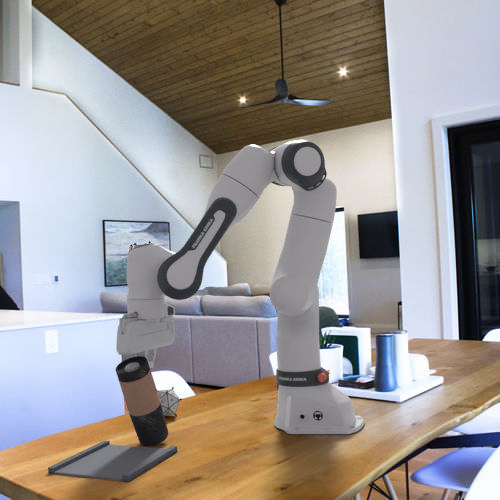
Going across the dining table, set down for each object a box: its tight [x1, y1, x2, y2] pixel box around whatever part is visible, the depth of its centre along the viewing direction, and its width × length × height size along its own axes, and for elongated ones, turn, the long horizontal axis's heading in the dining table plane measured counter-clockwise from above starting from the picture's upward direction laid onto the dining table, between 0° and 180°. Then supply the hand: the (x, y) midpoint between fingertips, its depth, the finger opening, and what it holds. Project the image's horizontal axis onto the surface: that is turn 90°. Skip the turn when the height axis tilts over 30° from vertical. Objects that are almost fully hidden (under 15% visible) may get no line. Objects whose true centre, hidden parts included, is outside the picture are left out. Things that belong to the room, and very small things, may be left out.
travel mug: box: [115, 355, 169, 448], centre depth 135 cm, size 8×8×20 cm
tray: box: [47, 440, 178, 483], centre depth 126 cm, size 20×19×1 cm
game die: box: [157, 386, 183, 417], centre depth 163 cm, size 9×8×10 cm
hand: (147, 368), depth 139 cm, fingers closed
